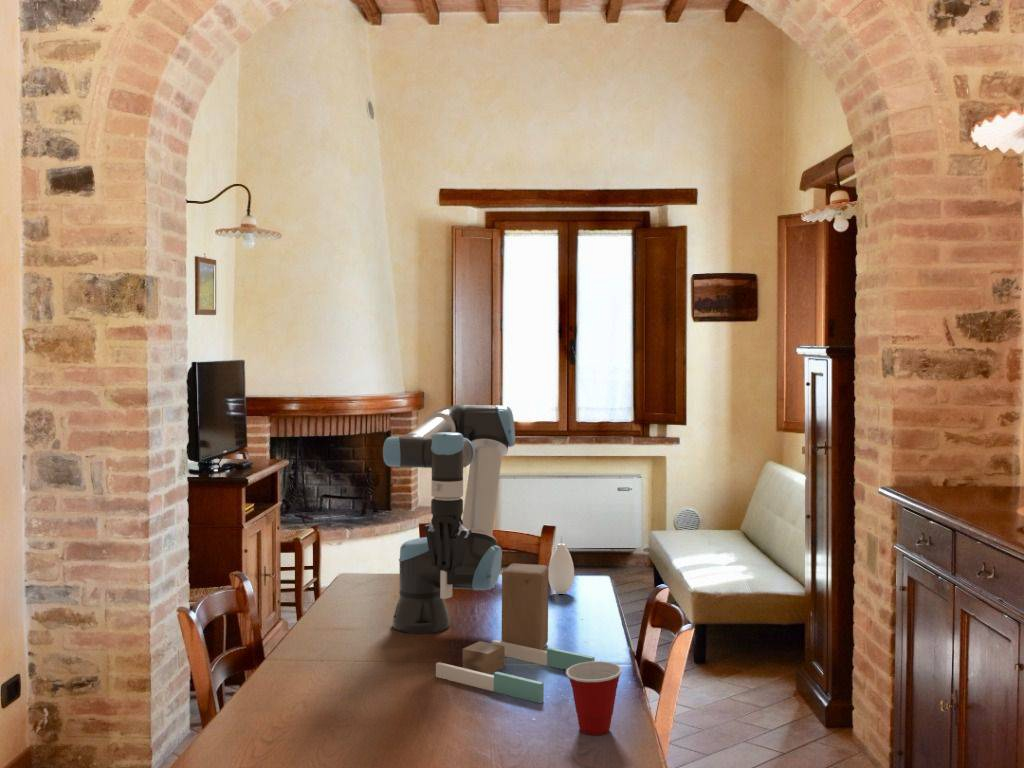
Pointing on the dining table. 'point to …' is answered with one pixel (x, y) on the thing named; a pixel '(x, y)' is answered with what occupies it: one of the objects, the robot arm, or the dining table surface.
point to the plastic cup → (594, 694)
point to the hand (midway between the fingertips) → (446, 597)
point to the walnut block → (483, 657)
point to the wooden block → (525, 605)
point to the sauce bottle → (561, 570)
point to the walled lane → (509, 682)
